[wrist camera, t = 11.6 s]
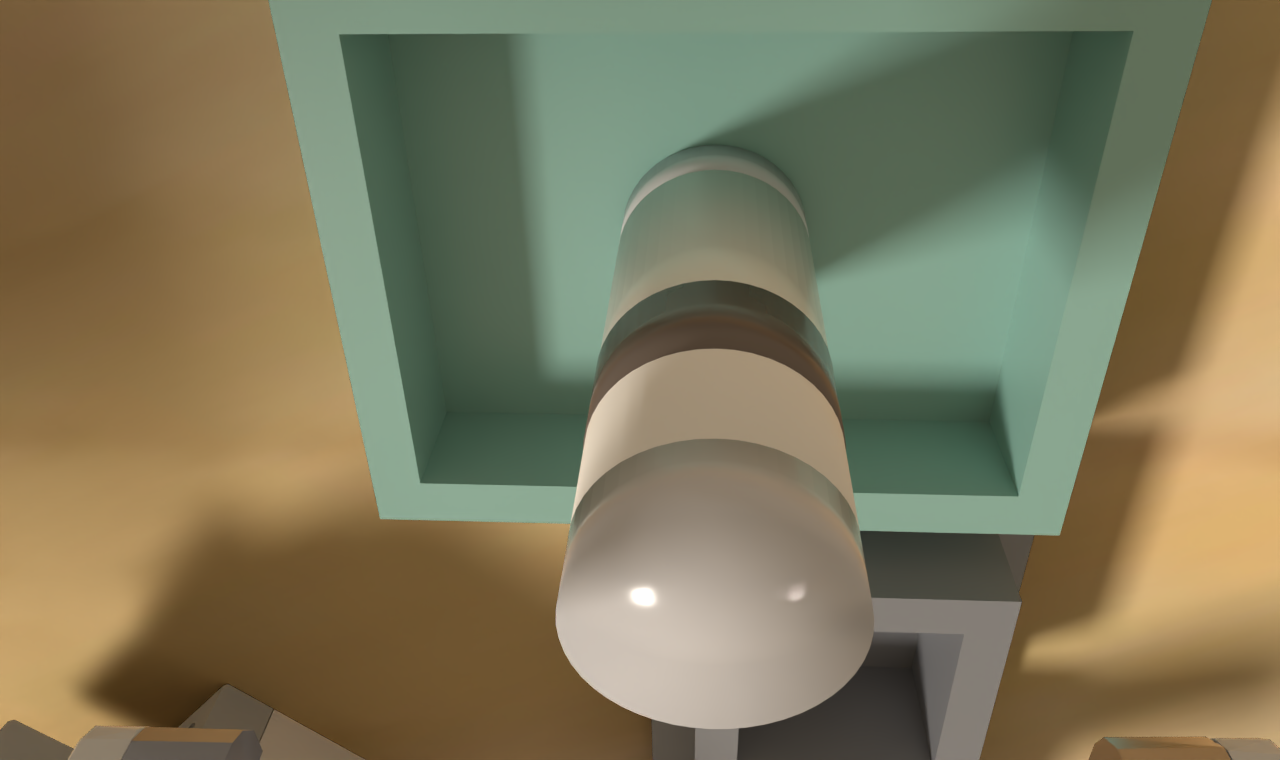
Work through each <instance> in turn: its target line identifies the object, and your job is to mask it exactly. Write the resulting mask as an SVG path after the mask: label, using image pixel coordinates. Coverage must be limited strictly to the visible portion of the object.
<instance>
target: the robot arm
mask: <svg viewBox="0 0 1280 760" xmlns="http://www.w3.org/2000/svg"><path fill="white" fill-rule="evenodd" d="M262 752H263V750H262V748H261V746H260V743H259V741H258V739H257V736H256V734H255V732H254V730H236V729H202V728H167V727H147V726H95V727H94V728H92V729H91V730H90V731H89V732H88V733H87V734H86V735H85V736H84V737H83V738H81V739H80V740H79V742H78V743H77V745H76V746H75V748H74V750H73V752H72V753H71V755H70V757H69V758H68V760H260V757H261V755H262ZM1089 760H1280V748H1279V747H1278V746H1277V745H1275V744H1274V743H1273V742H1272V741H1271V740H1269V739H1261V738H1219V739H1209V738H1207V737H1103V738H1102V739H1101V740H1099V741H1098V742H1097V743H1095V745H1094V747H1093V750H1092V752H1091V755H1090V758H1089Z"/></svg>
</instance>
